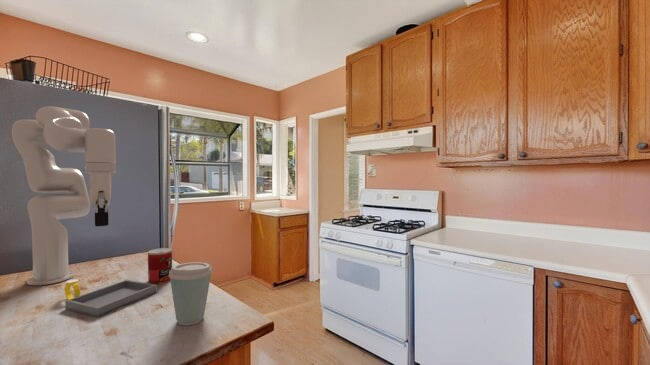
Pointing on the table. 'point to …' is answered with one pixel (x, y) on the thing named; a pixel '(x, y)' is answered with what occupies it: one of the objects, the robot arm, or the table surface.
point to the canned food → (159, 265)
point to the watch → (75, 286)
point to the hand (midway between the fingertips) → (101, 223)
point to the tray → (110, 298)
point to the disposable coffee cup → (190, 291)
